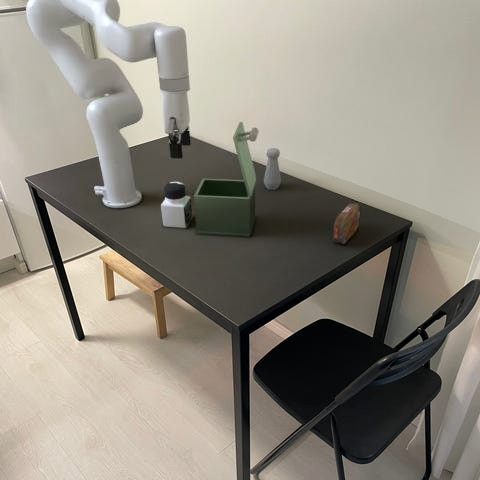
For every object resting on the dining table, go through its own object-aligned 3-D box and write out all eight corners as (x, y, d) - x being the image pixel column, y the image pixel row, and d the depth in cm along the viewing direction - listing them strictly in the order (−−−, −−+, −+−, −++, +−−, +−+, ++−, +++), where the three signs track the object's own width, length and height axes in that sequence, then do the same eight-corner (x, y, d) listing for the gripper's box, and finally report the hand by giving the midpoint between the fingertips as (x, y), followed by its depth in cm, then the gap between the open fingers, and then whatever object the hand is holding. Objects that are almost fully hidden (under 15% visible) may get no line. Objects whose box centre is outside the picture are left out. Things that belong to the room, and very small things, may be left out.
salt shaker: (261, 189, 164) (261, 151, 156) (266, 182, 168) (267, 145, 160) (277, 191, 162) (278, 153, 154) (282, 185, 166) (284, 147, 158)
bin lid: (232, 137, 122) (252, 133, 120) (239, 122, 131) (258, 117, 130) (248, 197, 131) (267, 193, 130) (253, 179, 141) (271, 175, 139)
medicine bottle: (186, 228, 143) (182, 190, 136) (163, 226, 145) (158, 188, 137) (192, 217, 149) (189, 180, 141) (170, 215, 150) (166, 178, 142)
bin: (196, 234, 141) (193, 196, 133) (205, 214, 150) (202, 178, 143) (250, 237, 139) (249, 198, 132) (255, 217, 148) (255, 180, 141)
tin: (340, 249, 133) (343, 221, 127) (329, 246, 134) (332, 218, 129) (360, 226, 143) (364, 199, 137) (350, 223, 144) (353, 197, 139)
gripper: (168, 75, 129) (175, 140, 140) (150, 92, 116) (159, 163, 127) (196, 75, 128) (200, 141, 139) (181, 93, 115) (187, 164, 126)
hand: (180, 151), depth 133 cm, fingers open, 9 cm apart
